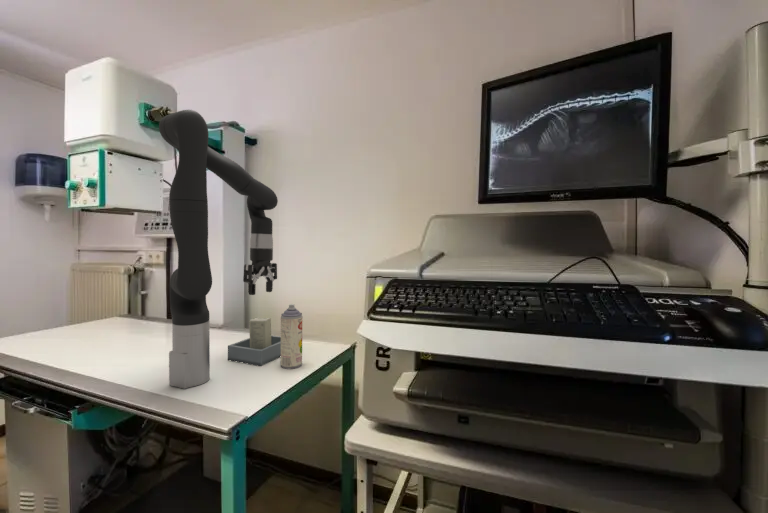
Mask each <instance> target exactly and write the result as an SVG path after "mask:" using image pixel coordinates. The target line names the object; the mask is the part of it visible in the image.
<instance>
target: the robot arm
mask: <svg viewBox="0 0 768 513" xmlns="http://www.w3.org/2000/svg"><path fill="white" fill-rule="evenodd" d="M158 130H159V133H160V135H161V137H162V138H163V140H164V141H165V142H166V143H167V144H169V145H170V146H171V147H172V148H174V149H176V150H177V151H178V164H177V168H176V171H175V175H174V177H173V179H172V182H171V185H170V189H169V197H168V198H169V200H168V201H169V202H168V203H169V206H168V207H169V218H170V223H171V229H172V232H173V235H174V238H175V242H176V246H177V253H178V254H177V268H176V269H175V270H174V271H173V272H172V273H171V276H170V278H169V307H170V308H169V310H170V315H171V323H172V328H171V329H172V331H171V332H172V346H171V347H172V350H170V351H169V353H168V374H169V376H168V382H169V383H168V384H169V386H172V387H175V388H181V389H183V390H184V389H188V388H192V387H196V386H200V385H203V384H205V383H207V382H209V380H210V374H211V373H210V372H211V370H210V369H211V366H210V364H211V362H210V359H211V358H210V357H211V356H210V352H211V351H210V350H211V349H210V348H211V347H210V344H211V343H210V342H211V340H210V338H211V337H210V327H211V326H210V311H209V308H208V304H207V295H208V294H209V292H210V291H211V288H212V285H213V276H212V269H211V263H210V256H209V208H208V207H209V206H208V201H209V200H208V182H207V181H208V180H207V177H208V176H207V173H208V172H207V170H209V171H210V172H212V173H213V174H214V175H215V176H217V177H218V178H219V179H221V180H222V181H223V182H225V184H226V185H228V186H229V187H230V188H232V189H233V190H234V191H235V192H236V193H238V194H239V195H241V196H244V197H245V196H246V207H247V211H248V215H249V219H250V222H251V223H250V224H251V225H250V239H249V240H250V241H249V260H250V261H251V264H244V266H243V280H242V281H243V283H246V284H247V285H248V290H247V291H248V292H247V293H248V295H249V296H256V288H257V287H256V282H257V280H258V279H260V278H261V277H264V278H265V280H266V281H265V292H267V293H272V292H273V289H274V288H273V286H274V283H273V282H274V281H275V280H278V264H277V263H276V262H272V261H273V259H274V250H273V249H274V240H273V239H274V238H273V220H272V218H271V217H267V215H266V213H265V211H271V210H274V209H275V208H276V207H277V205H278V197H277V194H276V193H275V191H274V190H273V189H272V188H270V187H269V186H268V185H266V184H264V183H262V182H261V181H259V180H257V179H255V178H254V177H253V176H252V175H251V174H250V173H248V172H247V171H246V170H245V169H244V168H243V167H242V166H241V165H240V164H238V163H237V162H235V161H234V160H232V159H230V158H229V157H226V156H225V155H224V154H221V153H219V152H217V151H216V150H215V149H213V148H211V147H210V146H209V129H208V124H207V122H206V120H205V119H204V117H203V116H202V115H201V114H200V113H199V112H198V111H197V110H193V109H182V110H178V111H177V112H173V113H169V114H167V115H165V116H163V117H162V118H161V119H160V120H159V123H158Z"/></svg>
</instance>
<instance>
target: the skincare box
mask: <svg viewBox="0 0 768 513" xmlns="http://www.w3.org/2000/svg"><path fill="white" fill-rule="evenodd" d="M248 321H249V322H248V323H249V324H248V326H249V327H248V328H249V329H248V330H249V338H250V348H253V349H259V350H261V349H264V348H266V347H269V346H271V335H272V322H271V321H272V318H270V317H254V318H251V319H249V320H248Z"/></svg>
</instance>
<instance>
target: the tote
mask: <svg viewBox="0 0 768 513" xmlns="http://www.w3.org/2000/svg"><path fill="white" fill-rule="evenodd" d="M280 356H281V336H280V335H279V336H278V335H272V334H271V346H269V347H266V348H264V349H261V350H259V349H253V348H250V337H249V338H246V339H245V338H244V339H243V340H239V341H237V342H234V343H231V344H229V345H227V361H229V360H231V361H230V362H235V361H237V362H236V363H240V362H243V363H242V364H246V363H248V364H247V365H251V364H253V365H252V366H257V365H258V367H262V366H264V365H267V364H269V363H271V362H273V361H275V360H277V359H279V358H281V357H280ZM276 358H277V359H276Z"/></svg>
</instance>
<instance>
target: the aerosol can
mask: <svg viewBox="0 0 768 513" xmlns="http://www.w3.org/2000/svg"><path fill="white" fill-rule="evenodd" d="M280 315H281V316H280V337H281V357H280V368H281V369H284V370H285V369H286V370H293V369H298V368H301V366H303V313H302V312H300V311H299V309H297V308H296V307H295V304H293V303H290V304H289V305H288V308H286V310H284V312H283V313H281V314H280Z"/></svg>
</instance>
